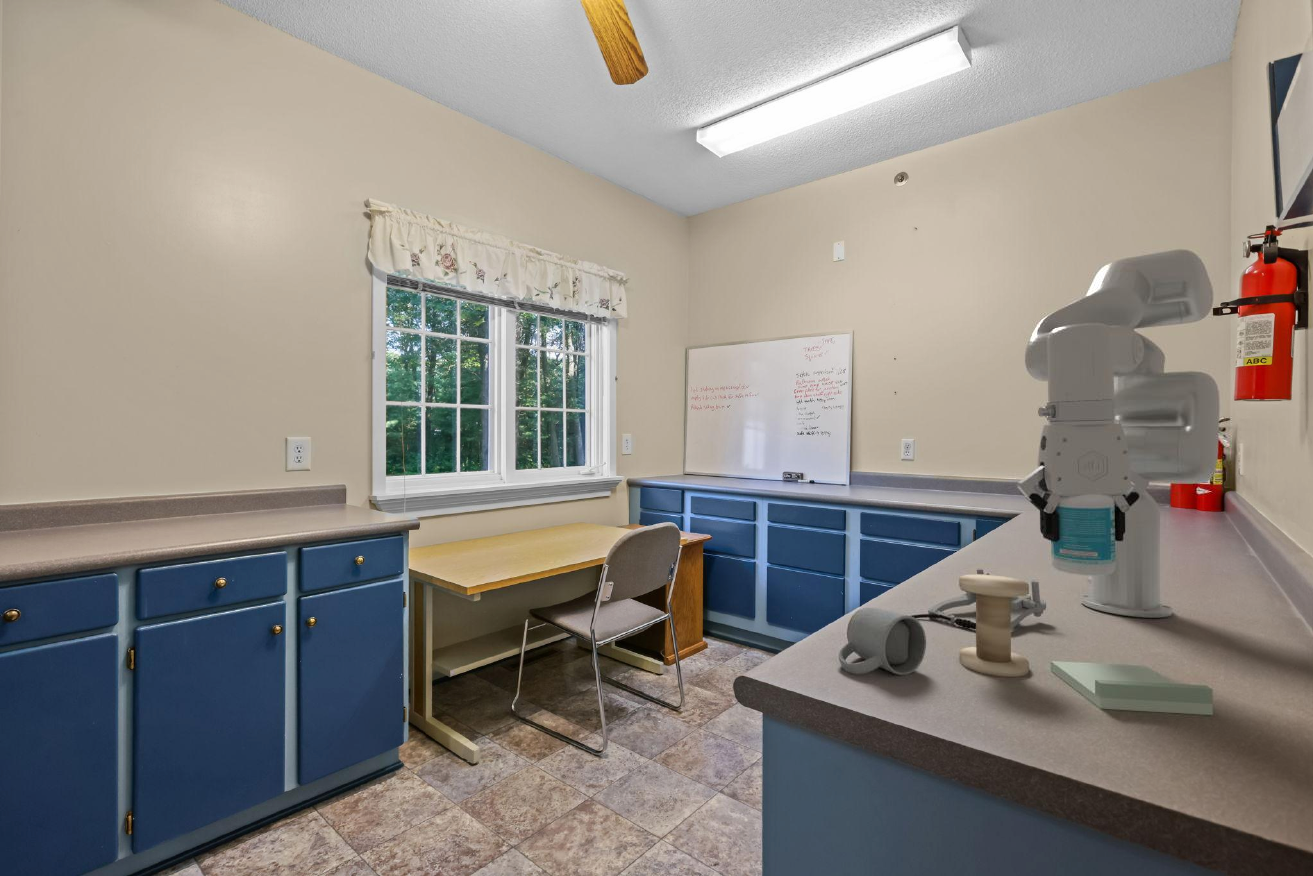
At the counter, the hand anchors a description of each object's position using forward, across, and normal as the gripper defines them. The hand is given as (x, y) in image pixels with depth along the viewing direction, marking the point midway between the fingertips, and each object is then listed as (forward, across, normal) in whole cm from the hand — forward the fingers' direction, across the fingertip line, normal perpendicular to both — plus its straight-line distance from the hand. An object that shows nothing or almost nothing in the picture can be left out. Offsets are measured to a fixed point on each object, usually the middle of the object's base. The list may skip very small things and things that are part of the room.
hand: (1082, 538), depth 85 cm
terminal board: (+15, -3, -15) cm, 21 cm away
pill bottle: (+5, 0, 0) cm, 5 cm away
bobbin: (+15, -15, -8) cm, 23 cm away
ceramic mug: (+15, -30, -11) cm, 35 cm away
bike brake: (+16, -10, +11) cm, 22 cm away
